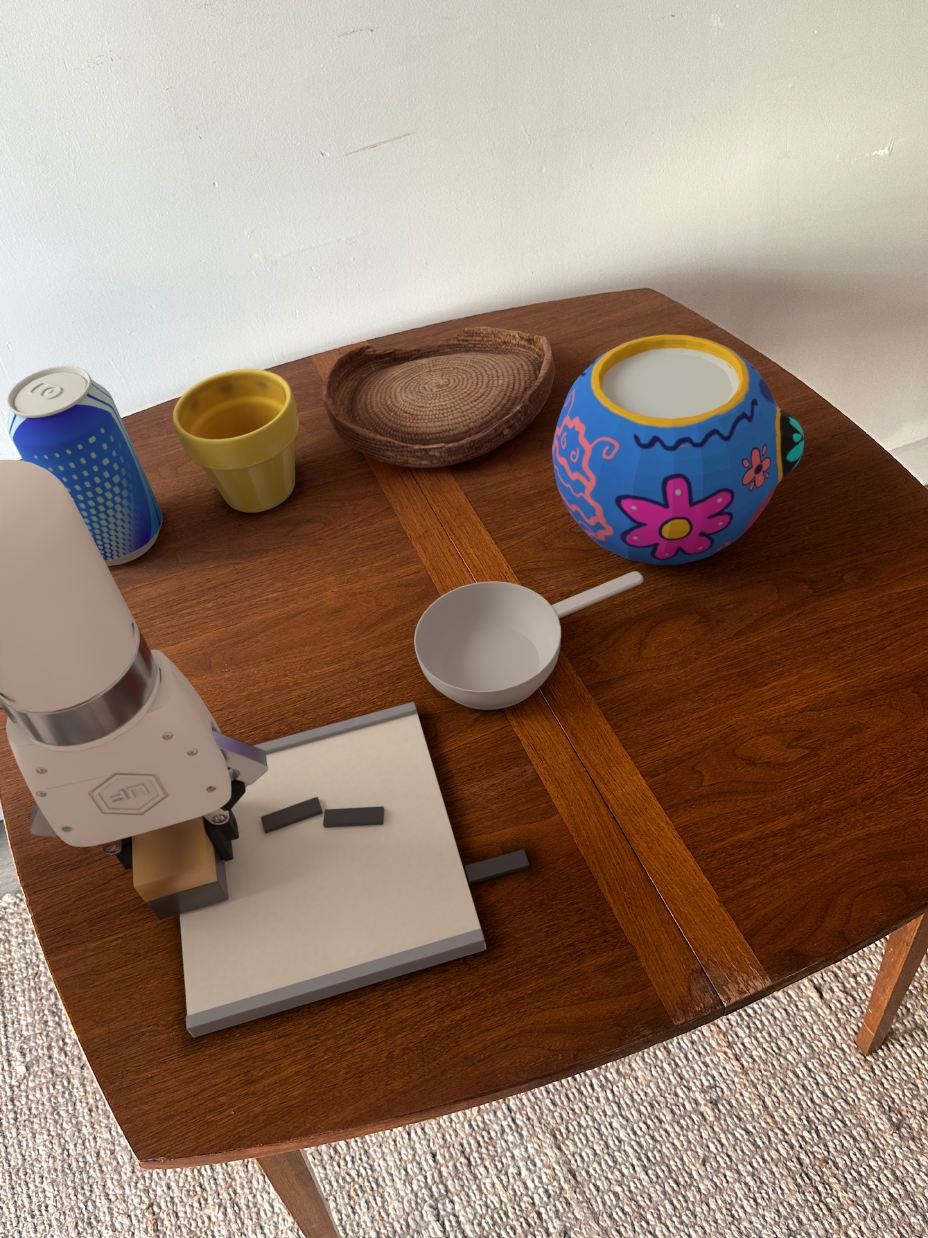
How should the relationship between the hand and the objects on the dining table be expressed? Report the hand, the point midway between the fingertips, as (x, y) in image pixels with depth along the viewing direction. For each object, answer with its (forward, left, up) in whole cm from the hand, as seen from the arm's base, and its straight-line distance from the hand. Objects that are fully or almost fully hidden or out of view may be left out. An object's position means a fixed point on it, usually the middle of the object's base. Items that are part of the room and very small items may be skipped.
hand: (186, 851), depth 66 cm
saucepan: (+27, +11, -2) cm, 29 cm away
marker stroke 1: (+7, +1, -1) cm, 7 cm away
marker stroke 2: (+11, 0, -1) cm, 11 cm away
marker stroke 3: (+19, -6, -2) cm, 20 cm away
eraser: (0, 0, -1) cm, 1 cm away
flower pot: (+9, +38, -2) cm, 39 cm away
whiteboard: (+8, -2, -2) cm, 8 cm away
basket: (+28, +43, -2) cm, 51 cm away
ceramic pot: (+41, +20, -2) cm, 45 cm away
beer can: (-4, +36, -2) cm, 36 cm away
